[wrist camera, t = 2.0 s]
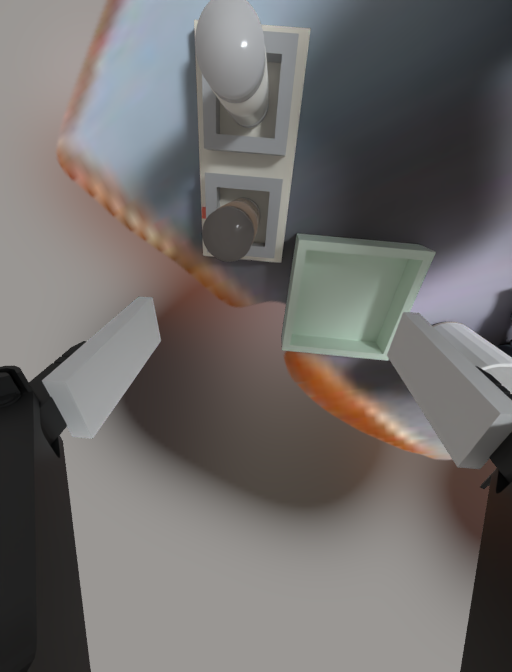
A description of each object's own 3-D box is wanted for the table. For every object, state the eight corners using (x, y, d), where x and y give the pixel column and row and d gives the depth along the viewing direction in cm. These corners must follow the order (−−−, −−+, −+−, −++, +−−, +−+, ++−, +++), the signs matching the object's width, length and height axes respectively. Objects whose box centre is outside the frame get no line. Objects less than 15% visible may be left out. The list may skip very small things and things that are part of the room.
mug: (398, 339, 38) (434, 387, 29) (461, 306, 35) (524, 349, 26) (426, 383, 42) (465, 437, 34) (486, 357, 39) (547, 409, 30)
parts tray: (296, 233, 31) (299, 239, 28) (419, 244, 31) (436, 252, 28) (281, 336, 39) (281, 350, 36) (378, 345, 39) (387, 360, 36)
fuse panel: (197, 25, 23) (187, 6, 20) (309, 34, 22) (313, 15, 20) (204, 253, 33) (199, 259, 31) (281, 260, 33) (281, 267, 31)
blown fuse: (227, 195, 29) (200, 205, 18) (262, 198, 29) (255, 210, 18) (226, 232, 31) (202, 260, 21) (259, 235, 31) (251, 264, 21)
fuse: (228, 71, 23) (191, -11, 13) (271, 74, 23) (268, -6, 13) (227, 127, 25) (195, 93, 15) (267, 130, 25) (262, 98, 15)
